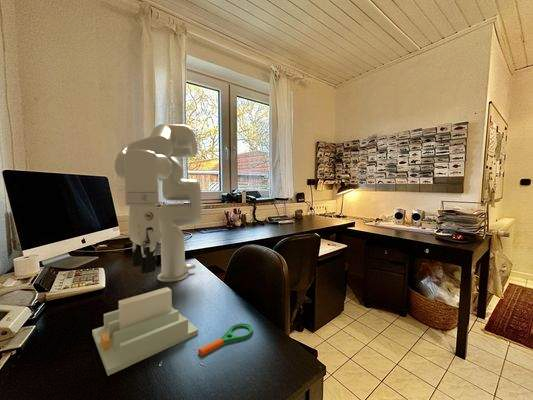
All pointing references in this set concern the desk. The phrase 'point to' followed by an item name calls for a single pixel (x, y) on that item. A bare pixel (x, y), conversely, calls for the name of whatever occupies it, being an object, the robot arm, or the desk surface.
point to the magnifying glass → (224, 338)
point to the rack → (139, 338)
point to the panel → (144, 307)
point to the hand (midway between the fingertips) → (143, 268)
